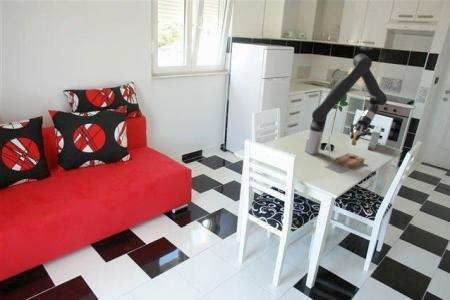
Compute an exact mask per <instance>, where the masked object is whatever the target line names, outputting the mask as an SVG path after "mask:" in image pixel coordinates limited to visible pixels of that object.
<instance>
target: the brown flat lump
mask: <svg viewBox="0 0 450 300" xmlns="http://www.w3.org/2000/svg"><path fill="white" fill-rule="evenodd" d="M364 162H365V158H364V157H360V156H358V155H355V154H352V153H350V152H348V153H345V154H343V155H341V156H338V157H336V158H335V159H334V163H335V164H337V165H338V166H339V165H340V166H341V167H343V168H346V169H350V170H352V169H354V168H357V167H358V166H362V165H363V164H364Z"/></svg>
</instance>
